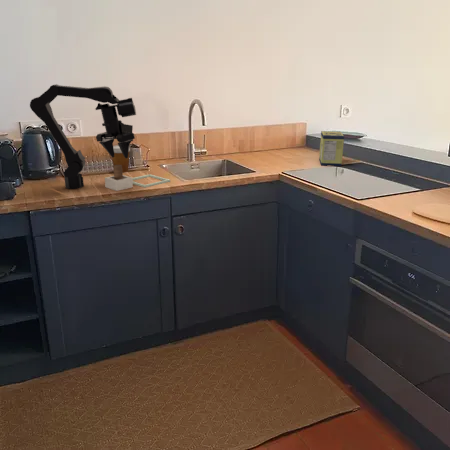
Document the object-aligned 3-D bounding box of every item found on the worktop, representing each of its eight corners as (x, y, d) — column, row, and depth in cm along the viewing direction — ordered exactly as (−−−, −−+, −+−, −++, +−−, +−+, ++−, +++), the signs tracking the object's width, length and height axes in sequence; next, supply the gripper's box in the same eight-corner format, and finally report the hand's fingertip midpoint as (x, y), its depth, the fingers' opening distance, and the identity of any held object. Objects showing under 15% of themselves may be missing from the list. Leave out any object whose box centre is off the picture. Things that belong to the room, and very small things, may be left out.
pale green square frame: (144, 189, 196) (144, 185, 195) (124, 183, 205) (124, 179, 204) (170, 183, 206) (170, 179, 205) (150, 178, 215) (149, 174, 214)
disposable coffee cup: (127, 174, 220) (125, 149, 216) (107, 173, 222) (106, 148, 218) (134, 170, 229) (133, 145, 225) (116, 169, 231) (114, 144, 227)
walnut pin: (118, 188, 194) (116, 167, 191) (113, 187, 196) (111, 165, 193) (125, 187, 196) (123, 165, 193) (120, 185, 198) (118, 164, 195)
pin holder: (116, 193, 191) (116, 181, 189) (105, 189, 196) (104, 177, 194) (133, 189, 197) (132, 177, 195) (121, 185, 202) (120, 174, 200)
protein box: (338, 160, 256) (340, 131, 250) (341, 166, 241) (344, 136, 236) (318, 159, 257) (320, 130, 251) (320, 166, 242) (323, 135, 237)
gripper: (141, 114, 187) (149, 153, 193) (113, 115, 199) (122, 151, 205) (118, 120, 180) (127, 160, 185) (91, 121, 192) (100, 158, 198)
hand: (119, 157), depth 193 cm, fingers open, 9 cm apart
